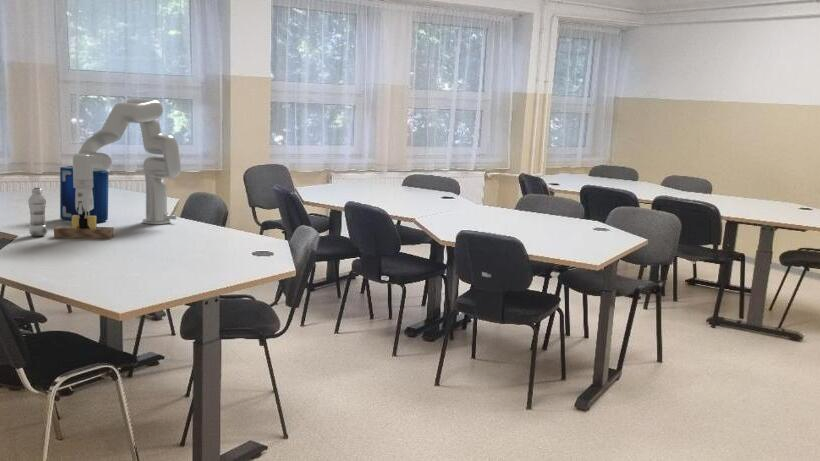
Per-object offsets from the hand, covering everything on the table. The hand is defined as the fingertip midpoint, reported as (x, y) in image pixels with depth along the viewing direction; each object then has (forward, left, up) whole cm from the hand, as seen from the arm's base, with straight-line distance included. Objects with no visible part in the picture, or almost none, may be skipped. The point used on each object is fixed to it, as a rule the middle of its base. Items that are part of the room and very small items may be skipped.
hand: (84, 227), depth 301 cm
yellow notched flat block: (0, 0, -3) cm, 3 cm away
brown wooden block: (0, 0, -4) cm, 4 cm away
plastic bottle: (+18, 0, -4) cm, 19 cm away
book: (+10, -40, -4) cm, 41 cm away
